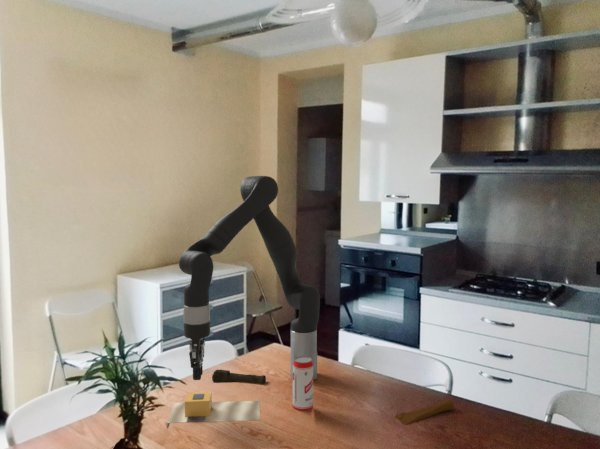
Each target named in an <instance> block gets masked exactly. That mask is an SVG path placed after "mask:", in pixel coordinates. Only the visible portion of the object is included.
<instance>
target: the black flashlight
mask: <svg viewBox="0 0 600 449" xmlns="http://www.w3.org/2000/svg"><path fill="white" fill-rule="evenodd" d="M211 379H212V382H213V383H217V384H222V383H223V384H224V383H225V384H226V383H227V384H228V383H248V384H257V385H262V386H263V385H264V384H265V383H266V382H267V380H266V379H267V378H266V375H256V374H243V373H237V372H236V373H234V372H231V371H230V370H226V369H216V370H214V371H213V374H212V376H211Z"/></svg>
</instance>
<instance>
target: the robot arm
mask: <svg viewBox="0 0 600 449" xmlns="http://www.w3.org/2000/svg"><path fill="white" fill-rule="evenodd" d="M239 190H240V195H241V198H242V200H243V202H241V204H239V205H238V206H237V207H235V208H233V210H231V211H229V212H228V213H227V214H225V215H224V216H222V217H221V218H220V219H218V220H217V221H216V222H215V223H214V224H213V225H212V227H210V229H208V231H207V232H206V233H205V234H204V235H203V236H202V237H201V238H200V239H198V240H197V241H195V242H194V243H193V244H191V245H190V246H189V247H188V248H186V249H185V250H184V251H183V252H182V254H181V255H180V258H179V261H178V267H179V269H180V270H181V272H183V273H184V274H187V275H189V276H191V277H190V283H188V284H187V285H186V286H184V289H183V300H184V301H183V336H184V337H185V338H186V339H190V342H189V353H188V356H189V361H190V363H189V364H190V368H191V369H192V380H193V381H201V379H202V375H203V372H204V371H203V370H204V369H203V367H204V366H203V362H204V358H205V345H206V338H208V337H209V336H210V335H211V309H210V296H209V295H210V293H209V292H210V286H211V282H212V278H213V274H214V263H213V259H212V257H211V256H213V255H219V254H220V253H222V252H223V251H224V250H226V248H227V247H228V245H229V244H231V242H232V241H233V240H234V239H235V237H237V235H238V234H239V232H241V231H242V230H243V229H244V228H245V226H247V225H249V223H250V222H251V221H252V220H254V222H255V225H256V227H257V228H258V231H259V234H260V236H261V238H262V240H263V242H264V245H265V246H264V247H265V248H266V250H267V253H268V255H269V257H270V259H271V262H272V263H273V266H274V268H275V271H276V273H277V275H278V278H279V281H280V284H281V287H282V291H283V294H284V296H285V299H286V303H287V304H288V305H289V306H290V308H293V309H295V310H298V317H297V318H294V319H293V320H291V322H290V372H289V373H290V377H291V379H292V380H293V363H294V361H295V358H296V357H300V356H307V357H310V358H311V359H312V360H311V361H312V363H313V380H318V350H317V347H318V346H317V345H318V344H317V342H318V339H317V338H318V337H317V336H318V334H317V333H318V331H317V330H318V324H319V320H320V307H321V295H320V291H319V290H318V288H317V287H315V286H314V285H309V284H307V283H306V284H305V283H303V282H302V281H301V279H300V277H299V275H298V272H297V266H296V263H297V256H298V253H297V252H298V251H297V246H296V244H295V242H294V239H293V236H292V235H291V233H290V231H289V230H288V228H287V227H286V226H285V225H284V223H282V221H280V219H279V218H278V217H277V216H276V215H275V213H273V211H272V209H271V207H270V205H272V203H273V202H275V200H276V198H277V196H278V193H279V186H278V183H277V181H276V179H275V178H273V177H271V176H268V175H255V176H254V175H253V176H247V177H244V179H243V180H242V181H241V184H240V189H239Z"/></svg>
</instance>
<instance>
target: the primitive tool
mask: <svg viewBox="0 0 600 449" xmlns="http://www.w3.org/2000/svg"><path fill="white" fill-rule="evenodd" d="M454 410H455V405H454V403H453V401H452V400H451V399H450V398H447V399H445V400H444V401H442V402H440V403H436V404H434V405H430V406H427V407H423V408H420V409H416V410H412V411H407V412H400V413H398V414H397V415H396V416H395V418H396V420H398V421H399V422H400V423H402V424H403V425H409V424H413V423H416V422H418V421H420V420H424V419H426V418H428V417H429V418H430V417H431V416H434V415H438V414H439V413H443V412H445V411H452V412H453V411H454Z"/></svg>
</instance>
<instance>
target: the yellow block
mask: <svg viewBox="0 0 600 449" xmlns="http://www.w3.org/2000/svg"><path fill="white" fill-rule="evenodd" d="M212 398H213V396H212V392H189V393H188V392H187V395H186V398H185V400H184V403H185V417H191V416H210V412H211V408H212V402H213V399H212Z"/></svg>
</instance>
